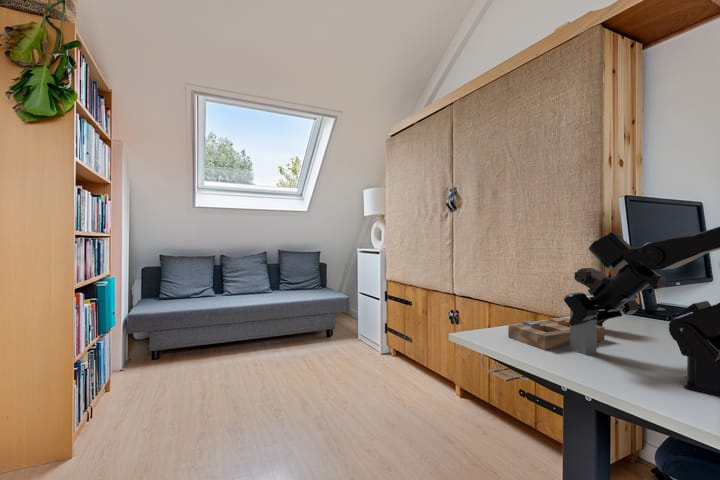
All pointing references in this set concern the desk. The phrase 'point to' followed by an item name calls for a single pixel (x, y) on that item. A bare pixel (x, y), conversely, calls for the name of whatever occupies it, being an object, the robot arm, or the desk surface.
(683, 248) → the robot arm
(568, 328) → the socket board
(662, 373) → the desk surface
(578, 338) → the plug
